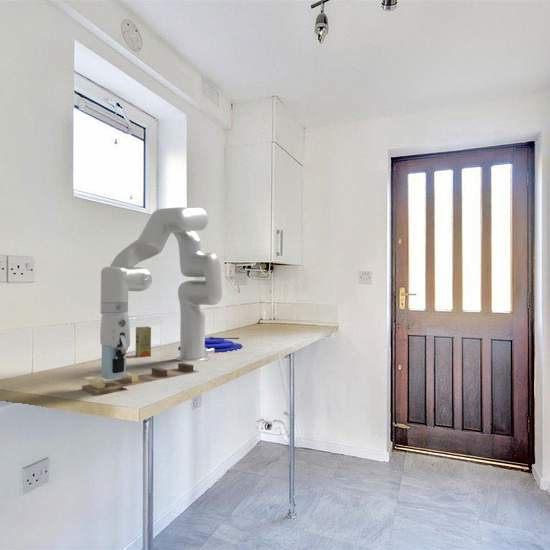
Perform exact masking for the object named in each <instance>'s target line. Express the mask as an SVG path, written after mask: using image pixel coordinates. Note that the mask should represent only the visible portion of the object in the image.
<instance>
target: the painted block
mask: <svg viewBox="0 0 550 550" xmlns="http://www.w3.org/2000/svg"><path fill="white" fill-rule="evenodd" d="M118 347H121V345H119V346H117V348H118ZM118 351H119V350H117V353H118ZM113 359H114V353H113V348H111V347H106V346H102V345H101V375H100V376H101V378H104V379H107V380H108V381H110V380H115V379H121V378H122V377H126V373H127V352H126V353H125V358H124V371H123V372H119V373H113V372H112V370H113Z"/></svg>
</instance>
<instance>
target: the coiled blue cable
mask: <svg viewBox="0 0 550 550" xmlns="http://www.w3.org/2000/svg"><path fill="white" fill-rule="evenodd" d="M238 339H240V337H213V336H208V337H205V348H207V349H211V348H214V353H215V354H216V353H217V354H218V353H219V352H221V353H228V352H227V351H230V352H234V351H233V350H235V351H238V350H237V349H239V350H241V348H242V347H243V345H242V344H241V343H238V342H234V341H232V340H238ZM242 349H243V348H242ZM178 350H179V351H180V346H179V347H178ZM214 353H213V354H214ZM219 354H220V353H219Z"/></svg>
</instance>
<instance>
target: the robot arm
mask: <svg viewBox="0 0 550 550" xmlns="http://www.w3.org/2000/svg"><path fill="white" fill-rule="evenodd" d="M208 223H209V215H208V213H207V211H206V210H205V209H203V208H202V207H180V206H179V207H165V208H158V209H156V210H153V212H152V213H151V215H150V217H149V219H148V220H147V222H146V224H145V226H144V228H143V230H142V231H141V233H140V235H139V237H138V238H137V239H136V240H134V241H133V242H132V243H130V244H128V245H127V246H126V247H125V248H124V249H122V250H121V251H120V252H119V253H118V254H117V255H116V256H115V257H114V259H113V260H112V262H111V264H110V266H105V267H103V268H102V269H101V271H100V314H99V315H101V318H100V319H101V320H100V330H99V331H100V334H99V335H100V337H99V339H100V340H99V341H100V344H101V347H102V346H106V347H111V348H113V353H114V359H113V370H112V372H113V373H119V372H123V371H124V358H125V353H126V354H127V351H128V349H129V347H130V346H131V329H130V319H129V292H143V291H145V290H147V289H148V288H149V289H150V287H151V285H152V282H153V277H152V273H151V272H150V271H149V270H148V269H146V268H144V267H140V266H138V267H137V266H136V265H138V264H139V263H142V262H143V261H146V260H148V259H151V258H153V257H156V256H157V255H159V254H160V253H161V252H162V251H163V249H164V248H165V245H166V243H167V241H168V239H169V237H170V235H171V234H173V236H175V238H176V241H177V243H178V244H177V245H178V252H179V253H178V256H179V267H180V272H181V274H182V275H183V276H184V277H186V278H187V277H188V278H204V279H205V280H197V279H196V280H195V279H194V280H186V281H183V282H181V283H180V284H179V286H178V289H177V297H178V301H179V310H180V311H179V312H180V324H179V325H180V333H179V334H180V338H179V339H180V340H179V342H180V343H179V344H180V346H179V347H180V350H179V351H180V353H179V354H180V355H179V356H177V357H176V358H175V359H176V360H177V361H182V362H197V361H198V362H199V361H205V362H208V361H209V356H208V355H209V354H214V348H211V349H207V348H205V338H206V332H205V331H206V315H205V312H204V310H203V307H202V306H201V305H203V306H204V305H205V306H213V305H218V304H219V303H220V302H221V299H222V296H223V295H222V294H223V285H222V269H221V266H222V265H221V262H220V258H219V257H218V256H217V254H215V253H213V252H203V251H202V247H201V239H200V237H199V235H198V234H197V231H203V230H204V229H206V227H207V226H208ZM135 266H136V267H135ZM119 345H121V347H118V348H117V346H119ZM117 350H119V351H118V353H117Z"/></svg>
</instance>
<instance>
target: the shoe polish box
mask: <svg viewBox="0 0 550 550" xmlns="http://www.w3.org/2000/svg"><path fill="white" fill-rule="evenodd" d="M151 350H152V327H150V326H149V325H148V326H136V327H135V357H138V358H143V357H144V358H145V357H152V354H151V353H152V351H151Z"/></svg>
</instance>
